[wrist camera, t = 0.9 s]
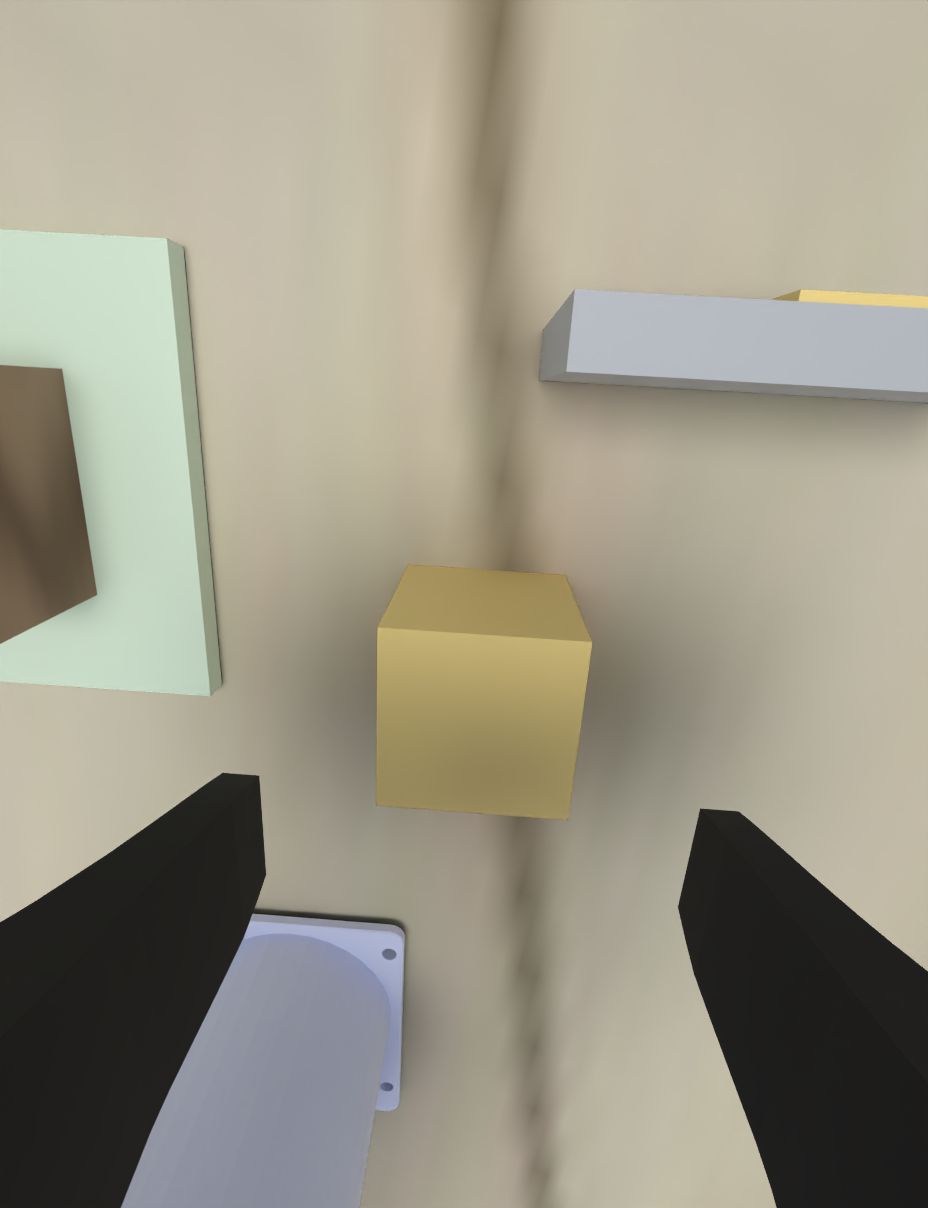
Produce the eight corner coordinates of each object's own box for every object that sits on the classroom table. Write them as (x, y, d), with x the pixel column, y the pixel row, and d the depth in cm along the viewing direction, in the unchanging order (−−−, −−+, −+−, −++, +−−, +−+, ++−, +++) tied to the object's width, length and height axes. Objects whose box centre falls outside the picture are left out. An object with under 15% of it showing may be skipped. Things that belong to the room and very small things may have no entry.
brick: (548, 712, 19) (567, 819, 14) (405, 702, 19) (375, 805, 14) (565, 574, 17) (592, 642, 12) (408, 563, 17) (377, 627, 13)
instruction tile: (933, 403, 15) (1197, 407, 9) (539, 380, 15) (566, 371, 10) (953, 339, 15) (1243, 303, 9) (544, 316, 15) (577, 267, 9)
